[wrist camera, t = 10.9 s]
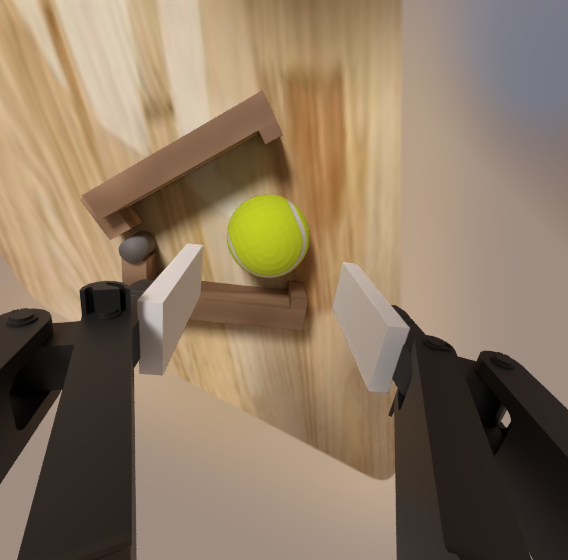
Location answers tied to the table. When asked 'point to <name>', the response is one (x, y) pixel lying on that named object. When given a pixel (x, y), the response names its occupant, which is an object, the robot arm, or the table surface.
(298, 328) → the brown l-shaped wooden bar
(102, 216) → the bracket
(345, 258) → the table surface
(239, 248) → the tennis ball
